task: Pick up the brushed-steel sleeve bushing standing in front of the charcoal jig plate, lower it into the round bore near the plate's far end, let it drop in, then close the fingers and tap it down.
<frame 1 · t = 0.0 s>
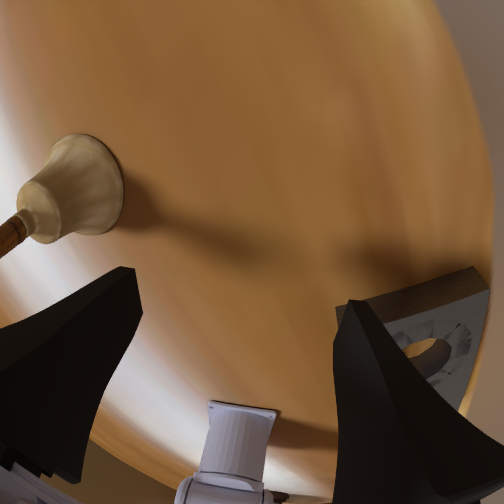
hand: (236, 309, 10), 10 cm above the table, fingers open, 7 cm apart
jig: (410, 363, 24), on the table
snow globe: (267, 493, 56), on the table
hand bell: (82, 185, 19), on the table
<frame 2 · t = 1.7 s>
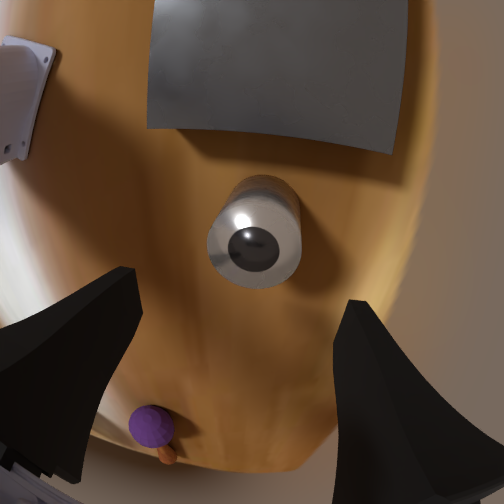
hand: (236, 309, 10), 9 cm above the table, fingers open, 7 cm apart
kendama: (164, 427, 37), on the table
bushing: (263, 209, 18), on the table
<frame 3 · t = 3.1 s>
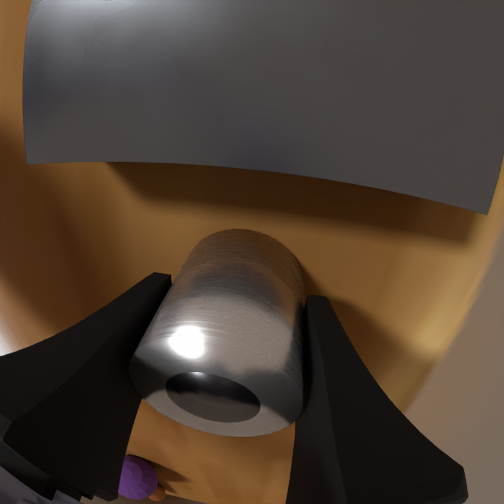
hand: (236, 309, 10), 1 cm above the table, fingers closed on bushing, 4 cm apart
kendama: (149, 470, 30), on the table
bushing: (242, 283, 11), on the table, touching gripper
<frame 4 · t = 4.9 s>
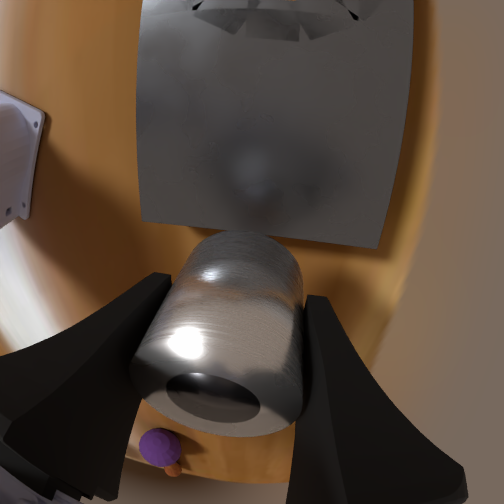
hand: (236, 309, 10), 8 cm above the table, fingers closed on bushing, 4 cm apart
kendama: (170, 445, 39), on the table
jig: (277, 33, 12), on the table
bushing: (242, 284, 11), point 7 cm above the table, touching gripper
when the fingers open (4 cm above the table, at t = 7.0 s): bushing drops 2 cm, resting in jig.
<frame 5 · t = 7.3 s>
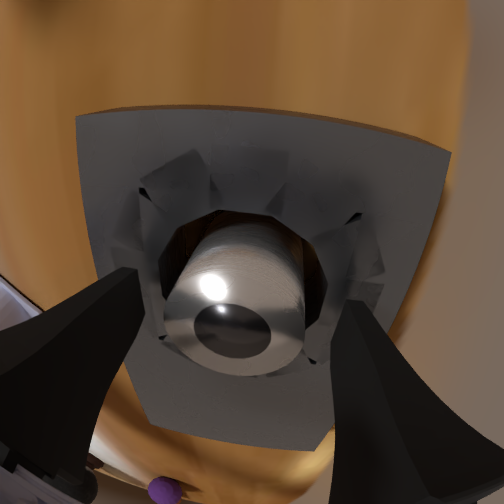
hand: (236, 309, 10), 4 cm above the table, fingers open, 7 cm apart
kendama: (172, 484, 42), on the table
jig: (244, 316, 15), on the table
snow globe: (81, 451, 44), on the table
bushing: (252, 251, 13), resting in jig
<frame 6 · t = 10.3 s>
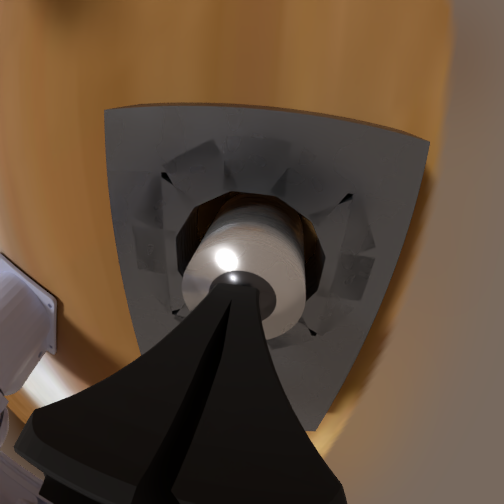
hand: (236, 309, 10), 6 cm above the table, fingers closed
jig: (250, 295, 16), on the table
bushing: (258, 233, 14), resting in jig
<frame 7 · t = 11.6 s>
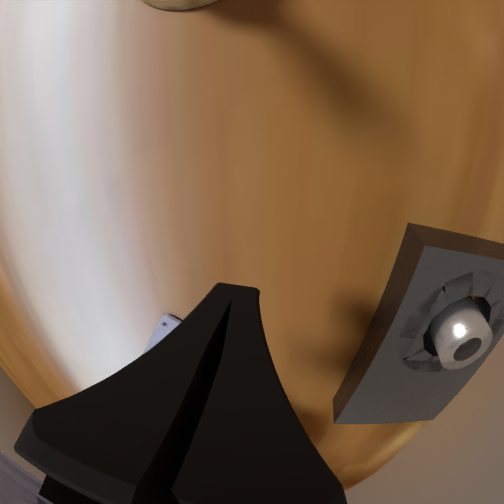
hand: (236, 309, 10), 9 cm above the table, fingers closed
jig: (425, 338, 21), on the table
bushing: (445, 304, 19), resting in jig
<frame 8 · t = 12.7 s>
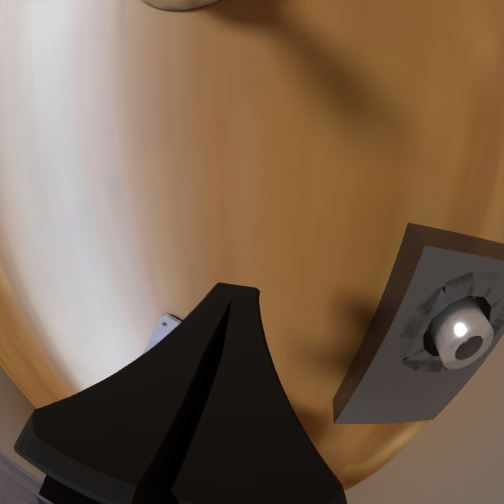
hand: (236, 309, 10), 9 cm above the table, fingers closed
jig: (425, 338, 21), on the table
bushing: (445, 304, 19), resting in jig
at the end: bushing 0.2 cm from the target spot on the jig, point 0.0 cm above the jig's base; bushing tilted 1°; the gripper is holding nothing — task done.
